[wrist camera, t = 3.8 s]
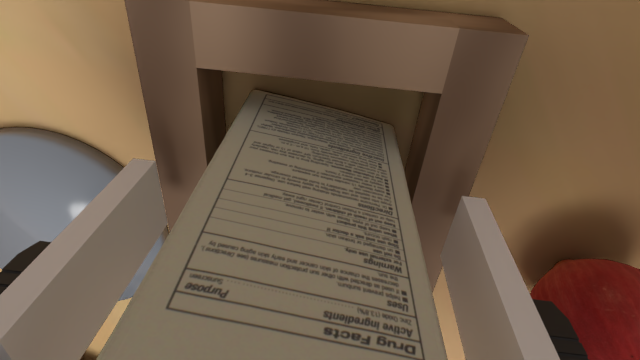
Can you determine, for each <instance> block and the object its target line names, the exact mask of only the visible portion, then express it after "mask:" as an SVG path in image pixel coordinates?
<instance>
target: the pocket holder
mask: <svg viewBox="0 0 640 360" xmlns="http://www.w3.org/2000/svg"><path fill="white" fill-rule="evenodd" d="M125 5H126V10H127V16H128V21H129V26H130V31H131V36H132V41H133V46H134V51H135V56H136V62H137V67H138V72H139V77H140V82H141V87H142V92H143V97H144V102H145V108H146V113H147V118H148V123H149V128H150V133H151V138H152V143H153V149H154V154H155V159H156V164H157V169H158V174H159V179H160V184H161V189H162V195H163V200H164V205H165V210H166V215H167V220H168V225H169V230H170V231H171V230H172V228H173V226H174V225H175V223H176V221H177V219H178V218H179V216H180V214H181V212H182V210H183V208H184V207H185V205H186V203H187V201H188V200H189V198H190V196H191V194H192V193H193V191H194V189H195V187H196V186H197V184H198V182H199V180H200V179H201V177H202V175H203V174H204V172H205V170H206V168H207V167H208V165H209V163H210V161H211V160H212V158H213V156H214V155H215V153H216V151H217V149H218V148H219V146H220V144H221V143H222V141H223V139H224V138H225V136H226V129H225V114H224V100H223V86H222V71H221V70H223V71H232V72H242V73H251V74H260V75H270V76H279V77H289V78H298V79H307V80H317V81H326V82H336V83H345V84H354V85H364V86H373V87H383V88H392V89H401V90H411V91H420V92H424V95H423V99H422V103H421V107H420V111H419V116H418V120H417V124H416V128H415V132H414V136H413V140H412V144H411V148H410V152H409V156H408V160H407V165H406V169H405V178H406V182H407V186H408V191H409V195H410V200H411V204H412V208H413V212H414V216H415V221H416V225H417V229H418V233H419V238H420V242H421V247H422V251H423V255H424V259H425V264H426V268H427V272H428V277H429V281H430V286H431V290H432V293H433V290H434V287H435V285H436V282H437V279H438V277H439V274H440V271H441V269H442V266H443V265H442V261H441V257H440V255H441V252H442V249H443V247H444V244H445V241H446V238H447V236H448V233H449V230H450V227H451V225H452V222H453V219H454V216H455V214H456V211H457V208H458V205H459V203H460V200H461V197H462V196H467V197H469V194H470V191H471V189H472V186H473V183H474V181H475V178H476V175H477V173H478V170H479V167H480V165H481V162H482V159H483V157H484V154H485V151H486V149H487V146H488V143H489V141H490V138H491V135H492V133H493V130H494V127H495V125H496V122H497V119H498V117H499V114H500V111H501V109H502V106H503V103H504V101H505V98H506V95H507V93H508V90H509V87H510V85H511V82H512V79H513V77H514V74H515V71H516V69H517V66H518V63H519V61H520V58H521V55H522V53H523V50H524V47H525V45H526V42H527V39H528V37H529V35H528V34H526V33H524V32H523V31H521V30H520V29H518V28H517V27H515V26H514V25H512V24H510V23H509V22H507V21H506V20H504V19H503V18H496V17H486V16H476V15H466V14H456V13H446V12H436V11H426V10H416V9H407V8H397V7H387V6H377V5H367V4H357V3H347V2H337V1H327V0H125Z"/></svg>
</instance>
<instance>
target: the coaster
mask: <svg viewBox="0 0 640 360" xmlns="http://www.w3.org/2000/svg"><path fill="white" fill-rule="evenodd" d="M122 169H123V167H122V166H121V165H119V164H118V163H117V162H115V161H114V160H112V159H111V158H110V157H108V156H106V155H105V154H103V153H101V152H100V151H98V150H96V149H95V148H93V147H91V146H89V145H86V144H84V143H82V142H80V141H78V140H75V139H73V138H70V137H67V136H65V135H62V134H58V133H54V132H51V131H47V130H41V129H35V128H23V127H13V128H2V129H0V268H1V269H3V268H4V267H5V266H6V265H7V264H8V263H9V262H10V261H11V260H12V259H13V258H14V257H15V256H16V255H17V254H18V253H20V252H22V251H23V250H25V249H27V248H28V247H30V246H32V245H33V244H35V243H37V242H39V241H46V242H52V241H53V240H54V239H55V238H56V237H57V236H58V235H59V234H60V233H61V232H62V231H63V230H64V229H65V228H66V227H67V226H68V225H69V224H70V223H71V222H72V221H73V220H74V219H75V218H76V217H77V216H78V215H79V214H80V213H81V211H82V210H83V209H84V208H85V207H86V206H87V205H88V204H89V203H90V202H91V201H92V200H93V199H94V198H95V197H96V196H97V195H98V194H99V193H100V192H101V191H102V190H103V189H104V188H105V187H106V186H107V185H108V184H109V183H110V182H111V181H112V180H113V179H114V178H115V177H116V176H117V175H118V174H119V173H120V171H121V170H122ZM168 235H169V232H168V229H167V225H166V227H165V229H164V230H163V232H162V233H161V235H160V236H159V238H158V239H157V241H156V242H155V244H154V246H153V247H152V249H151V250H150V252H149V253H148V255H147V256H146V258H145V260H144V261H143V263H142V264H141V266H140V267H139V269H138V270H137V272H136V273H135V275H134V277H133V278H132V280H131V281H130V283H129V284H128V286H127V287H126V289H125V291H124V292H123V294H122V295H121V297H120V298H119V300H118V301H120V300H125V299H128V298H131V297H133V295H134V293H135V292H136V290H137V288H138V287H139V285H140V284H141V282H142V280H143V279H144V277H145V275H146V273H147V271H148V269H149V268H150V266H151V264H152V262H153V261H154V259H155V257H156V256H157V254H158V252H159V250H160V249H161V247H162V245H163V243H164V242H165V240H166V238H167V237H168Z"/></svg>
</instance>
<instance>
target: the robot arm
mask: <svg viewBox="0 0 640 360" xmlns="http://www.w3.org/2000/svg"><path fill="white" fill-rule="evenodd" d="M167 224H168V222H167V217H166V212H165V207H164V202H163V197H162V192H161V186H160V181H159V176H158V171H157V166H156V161H151V160H142V159H132V160H131V161H130V162H129V163H128V164H127V165H126V166H125V167H124V168H123V169H122V170H121V171H120V173H119V174H118V175H117V176H116V177H115V178H114V179H113V180H112V181H111V182H110V183H109V184H108V185H107V186H106V187H105V188H104V189H103V190H102V191H101V192H100V193H99V194H98V195H97V196H96V197H95V198H94V199H93V200H92V201H91V202H90V203H89V204H88V205H87V206H86V207H85V208H84V209H83V210H82V211H81V213H80V214H79V215H78V216H77V217H76V218H75V219H74V220H73V221H72V222H71V223H70V224H69V225H68V226H67V227H66V228H65V229H64V230H63V231H62V232H61V233H60V234H59V235H58V236H57V237H56V238H55V239H54V240H53V241H52V242H46V241H39V242H37V243H35V244H33V245H32V246H30V247H28V248H27V249H25V250H23V251H22V252H20V253H18V254H17V255H16V256H15V257H14V258H13V259H12V260H11V261H10V262H9V263H8V264H7V265H6V266H5V267H4V268H3V269H2V272H0V360H80V359H81V357H82V356H83V354H84V353H85V351H86V349H87V348H88V346H89V345H90V343H91V342H92V340H93V339H94V337H95V336H96V334H97V332H98V331H99V329H100V328H101V326H102V325H103V323H104V322H105V320H106V318H107V317H108V315H109V314H110V312H111V311H112V309H113V308H114V306H115V305H116V303H117V301H118V300H119V298H120V297H121V295H122V294H123V292H124V291H125V289H126V287H127V286H128V284H129V283H130V281H131V280H132V278H133V277H134V275H135V273H136V272H137V270H138V269H139V267H140V266H141V264H142V263H143V261H144V260H145V258H146V256H147V255H148V253H149V252H150V250H151V249H152V247H153V246H154V244H155V242H156V241H157V239H158V238H159V236H160V235H161V233H162V232H163V230H164V229H165V227H166V225H167ZM440 257H441V261H442V265H443V269H444V273H445V277H446V281H447V285H448V289H449V293H450V297H451V301H452V305H453V309H454V313H455V317H456V322H457V326H458V330H459V334H460V338H461V342H462V346H463V350H464V354H465V358H466V360H589V359H588V355H587V353H586V351H585V349H584V347H583V345H582V343H579V338H578V336H577V334H576V332H575V330H574V328H573V326H572V325H571V323H570V321H569V319H568V318H567V317H566V316H565V315H564V314H563V313H562V312H561V311H560V310H559V309H558V307H557V306H556V305H555V304H554V303H553V302H552V301H544V300H536V299H532V298H531V296H530V294H529V291H528V289H527V287H526V285H525V283H524V281H523V278H522V276H521V274H520V272H519V270H518V268H517V266H516V263H515V261H514V259H513V257H512V255H511V253H510V250H509V248H508V246H507V244H506V242H505V240H504V238H503V235H502V233H501V231H500V229H499V227H498V225H497V222H496V220H495V218H494V216H493V214H492V212H491V210H490V207H489V205H488V203H487V201H486V199H485V198H476V197H467V196H462V197H461V200H460V203H459V205H458V208H457V211H456V214H455V216H454V219H453V222H452V225H451V227H450V230H449V233H448V236H447V238H446V241H445V244H444V247H443V249H442V252H441V255H440Z"/></svg>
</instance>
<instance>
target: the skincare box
mask: <svg viewBox="0 0 640 360" xmlns="http://www.w3.org/2000/svg"><path fill="white" fill-rule="evenodd" d="M96 360H448V359H447V355H446V350H445V346H444V342H443V337H442V333H441V329H440V325H439V320H438V316H437V312H436V307H435V303H434V299H433V294H432V290H431V286H430V281H429V277H428V272H427V268H426V264H425V259H424V255H423V251H422V247H421V242H420V238H419V233H418V229H417V225H416V221H415V216H414V212H413V208H412V204H411V200H410V195H409V191H408V186H407V182H406V178H405V173H404V168H403V164H402V160H401V156H400V152H399V147H398V143H397V138H396V134H395V130H394V127H393V126H392V125H389V124H387V123H383V122H380V121H376V120H373V119H370V118H366V117H363V116H359V115H356V114H352V113H348V112H345V111H341V110H337V109H334V108H330V107H326V106H322V105H318V104H314V103H310V102H306V101H302V100H298V99H294V98H290V97H285V96H281V95H277V94H272V93H268V92H264V91H260V90H252V91H251V92H250V94H249V96H248V98H247V99H246V101H245V103H244V104H243V106H242V108H241V110H240V111H239V113H238V115H237V117H236V118H235V120H234V122H233V124H232V125H231V127H230V129H229V130H228V132H227V134H226V136H225V138H224V139H223V141H222V143H221V144H220V146H219V148H218V149H217V151H216V153H215V155H214V156H213V158H212V160H211V161H210V163H209V165H208V167H207V168H206V170H205V172H204V174H203V175H202V177H201V179H200V180H199V182H198V184H197V186H196V187H195V189H194V191H193V193H192V194H191V196H190V198H189V200H188V201H187V203H186V205H185V207H184V208H183V210H182V212H181V214H180V216H179V218H178V219H177V221H176V223H175V225H174V226H173V228H172V230H171V231H170V233H169V235H168V237H167V238H166V240H165V242H164V243H163V245H162V247H161V249H160V250H159V252H158V254H157V256H156V257H155V259H154V261H153V262H152V264H151V266H150V268H149V269H148V271H147V273H146V275H145V277H144V279H143V280H142V282H141V284H140V285H139V287H138V288H137V290H136V292H135V293H134V295H133V297H132V299H131V301H130V302H129V304H128V306H127V308H126V310H125V311H124V313H123V315H122V317H121V318H120V320H119V322H118V324H117V325H116V327H115V329H114V330H113V332H112V334H111V336H110V337H109V339H108V341H107V342H106V344H105V346H104V347H103V349H102V351H101V352H100V354H99V356H98V357H97V359H96Z"/></svg>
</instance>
